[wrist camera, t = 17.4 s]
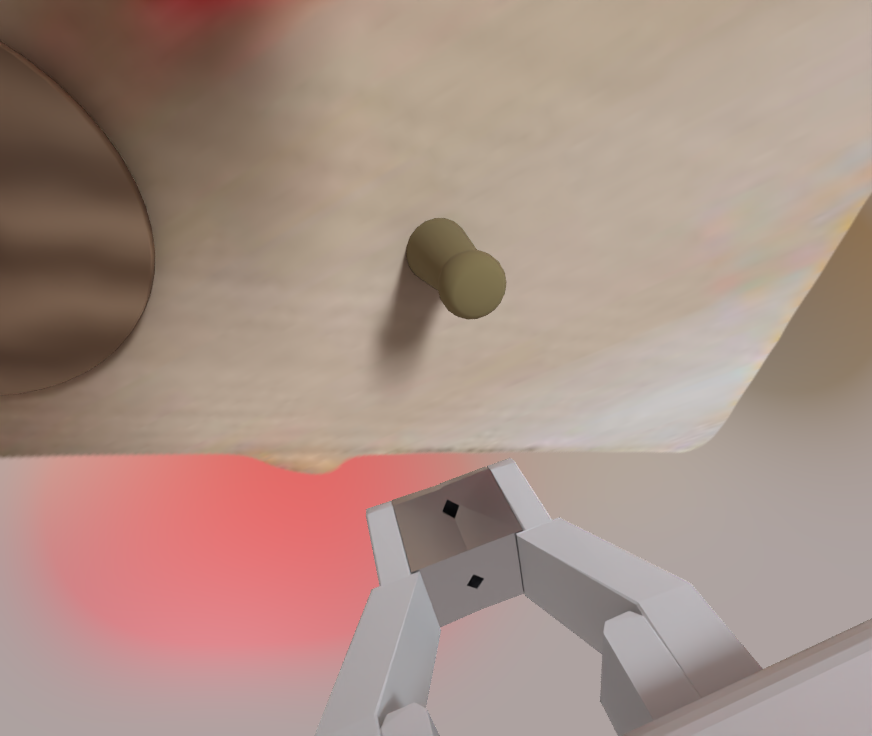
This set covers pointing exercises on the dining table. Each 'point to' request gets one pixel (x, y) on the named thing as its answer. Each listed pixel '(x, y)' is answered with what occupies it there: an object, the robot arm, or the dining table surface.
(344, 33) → the dining table surface
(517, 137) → the dining table surface
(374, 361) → the dining table surface
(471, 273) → the olive pawn
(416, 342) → the dining table surface
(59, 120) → the lazy susan
